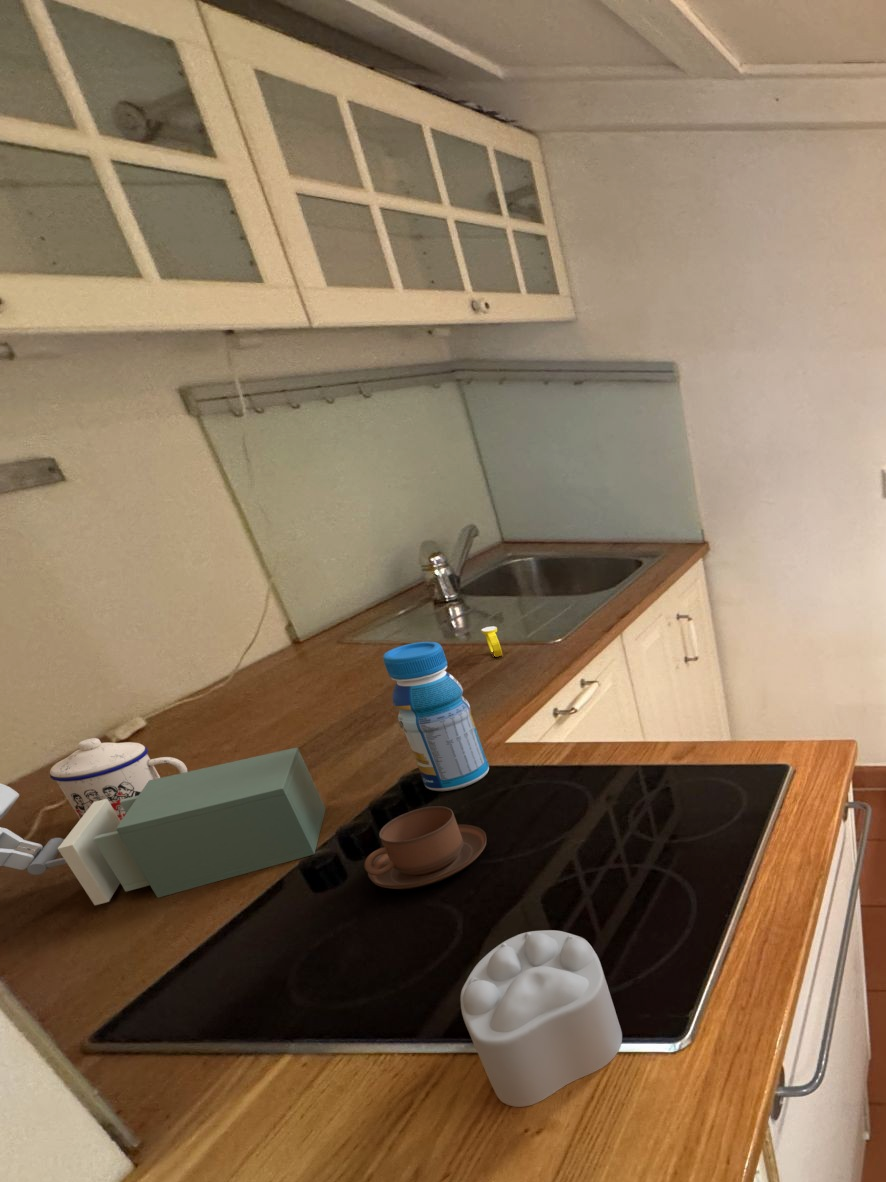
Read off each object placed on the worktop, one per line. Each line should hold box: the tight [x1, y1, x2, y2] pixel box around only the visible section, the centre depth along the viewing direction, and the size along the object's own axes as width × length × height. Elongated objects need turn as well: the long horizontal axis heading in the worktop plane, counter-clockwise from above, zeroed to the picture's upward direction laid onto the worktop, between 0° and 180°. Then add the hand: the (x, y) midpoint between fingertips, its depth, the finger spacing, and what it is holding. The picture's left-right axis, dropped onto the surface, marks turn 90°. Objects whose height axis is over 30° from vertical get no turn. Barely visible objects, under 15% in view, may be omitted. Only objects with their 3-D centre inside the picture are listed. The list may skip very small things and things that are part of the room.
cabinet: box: [116, 747, 327, 899], centre depth 94 cm, size 15×13×10 cm
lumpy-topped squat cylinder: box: [459, 929, 623, 1108], centre depth 66 cm, size 10×13×9 cm
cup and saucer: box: [364, 805, 487, 890], centre depth 90 cm, size 12×12×6 cm
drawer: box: [26, 795, 150, 906], centre depth 91 cm, size 18×11×8 cm, turn 122°
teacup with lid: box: [49, 737, 189, 821], centre depth 103 cm, size 12×9×12 cm
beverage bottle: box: [382, 641, 490, 792], centre depth 107 cm, size 8×8×20 cm
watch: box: [480, 625, 503, 657], centre depth 155 cm, size 6×3×6 cm, turn 40°
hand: (35, 857), depth 86 cm, fingers closed, pressing on drawer
